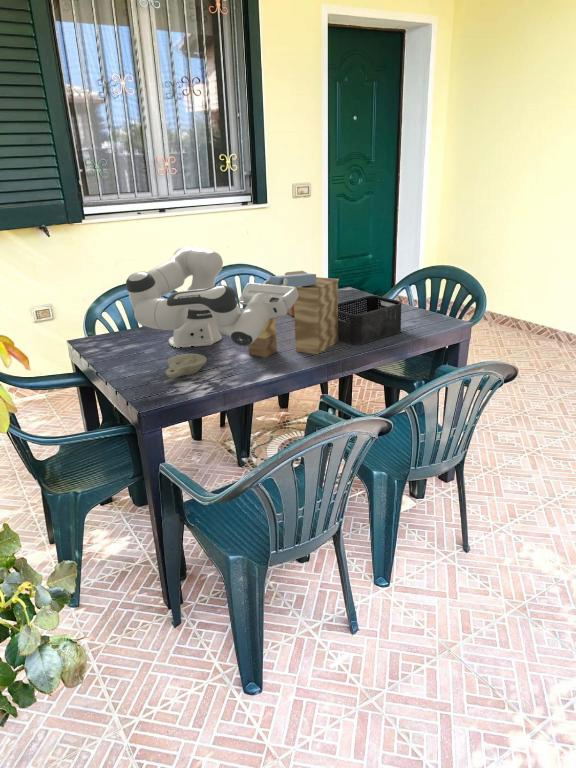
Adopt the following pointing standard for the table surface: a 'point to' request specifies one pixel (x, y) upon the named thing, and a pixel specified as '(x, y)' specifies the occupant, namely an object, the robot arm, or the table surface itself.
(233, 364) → the table surface
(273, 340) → the walnut block
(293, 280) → the blue bar
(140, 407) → the table surface
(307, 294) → the oak stand
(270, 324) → the block
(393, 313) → the storage bin
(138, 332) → the table surface
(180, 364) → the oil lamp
